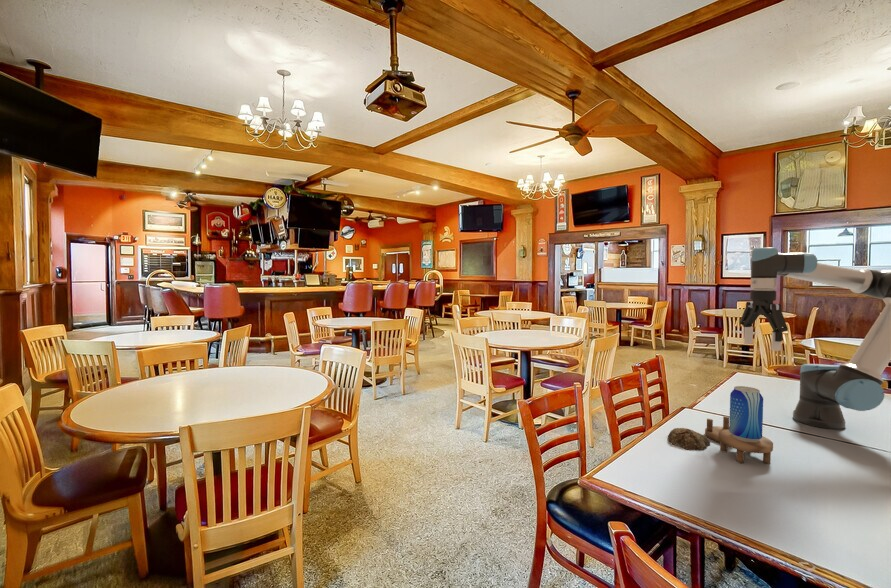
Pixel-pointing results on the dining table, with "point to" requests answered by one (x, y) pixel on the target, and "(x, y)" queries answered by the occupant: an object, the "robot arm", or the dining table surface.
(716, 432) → the upturned footstool
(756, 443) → the footstool
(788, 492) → the dining table surface
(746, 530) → the dining table surface
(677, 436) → the bread roll
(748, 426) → the beer can
